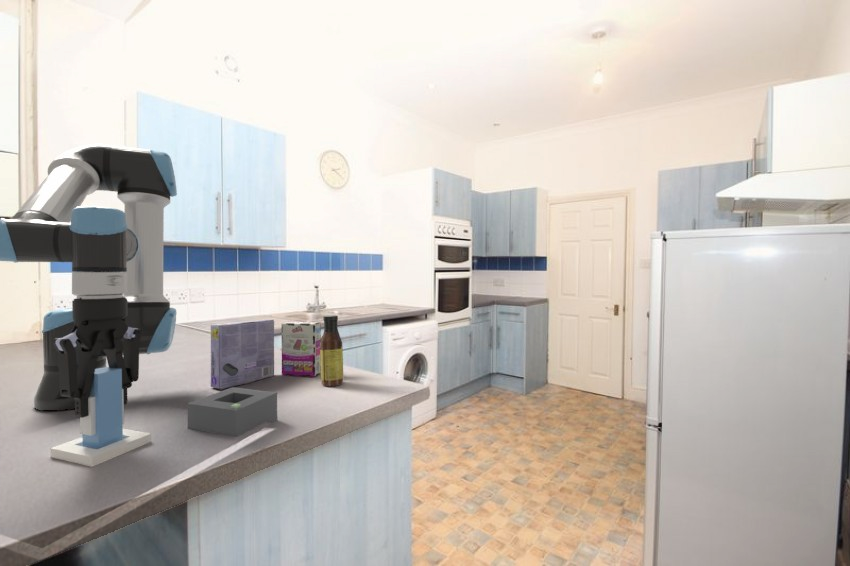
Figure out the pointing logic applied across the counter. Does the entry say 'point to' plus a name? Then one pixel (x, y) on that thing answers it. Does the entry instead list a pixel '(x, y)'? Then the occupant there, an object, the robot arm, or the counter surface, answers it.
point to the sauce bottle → (331, 353)
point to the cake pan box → (241, 353)
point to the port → (232, 411)
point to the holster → (92, 457)
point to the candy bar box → (301, 348)
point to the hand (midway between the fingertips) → (102, 428)
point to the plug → (106, 408)
